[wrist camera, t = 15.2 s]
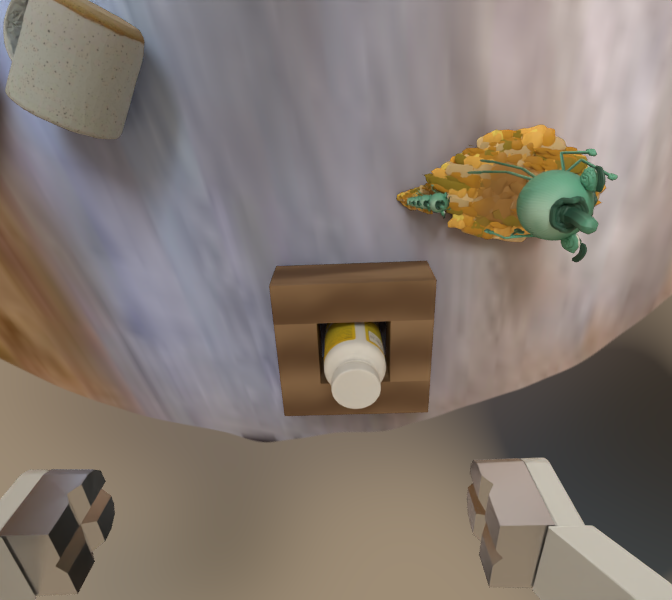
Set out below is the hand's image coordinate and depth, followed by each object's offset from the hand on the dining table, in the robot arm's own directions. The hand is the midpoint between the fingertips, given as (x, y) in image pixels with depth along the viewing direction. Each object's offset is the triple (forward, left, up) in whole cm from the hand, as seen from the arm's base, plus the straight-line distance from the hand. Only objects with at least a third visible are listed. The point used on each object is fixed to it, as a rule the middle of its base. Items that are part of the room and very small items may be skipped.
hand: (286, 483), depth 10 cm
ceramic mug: (-10, -18, -31) cm, 38 cm away
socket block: (+14, +2, -31) cm, 34 cm away
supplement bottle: (+14, +2, -31) cm, 34 cm away
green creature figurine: (0, +15, -31) cm, 35 cm away
